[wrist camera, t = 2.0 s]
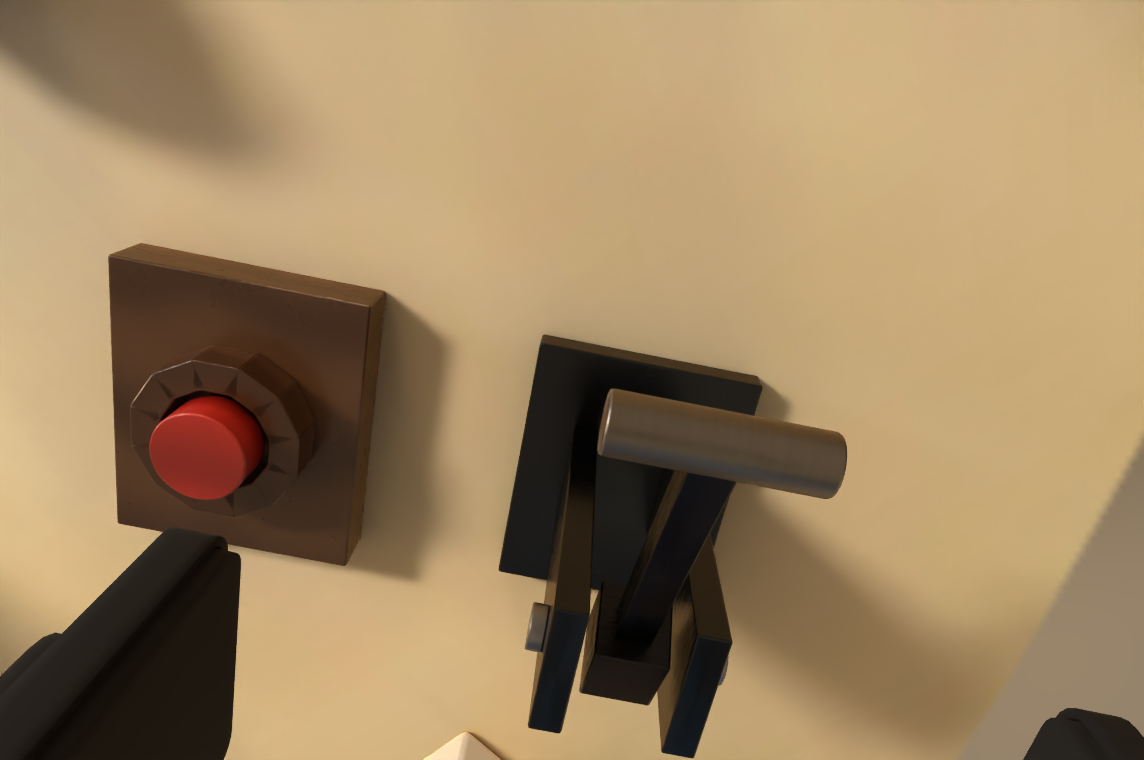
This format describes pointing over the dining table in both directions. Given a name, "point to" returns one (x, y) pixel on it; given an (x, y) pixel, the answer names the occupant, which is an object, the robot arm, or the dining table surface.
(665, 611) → the switch lever
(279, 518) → the housing
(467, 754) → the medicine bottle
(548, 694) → the switch bracket
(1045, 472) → the dining table surface
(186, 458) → the button
